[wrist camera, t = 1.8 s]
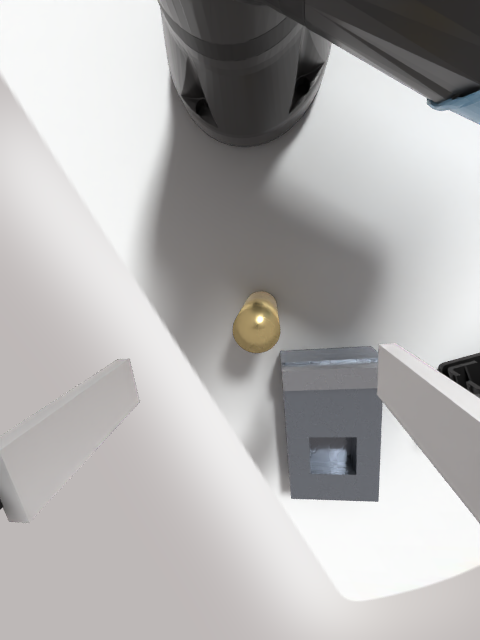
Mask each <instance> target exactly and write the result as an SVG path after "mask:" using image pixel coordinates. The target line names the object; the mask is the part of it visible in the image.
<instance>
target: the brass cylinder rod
mask: <svg viewBox="0 0 480 640" xmlns="http://www.w3.org/2000/svg"><path fill="white" fill-rule="evenodd" d="M233 336H234V339H235V341H236V342H237V344H238V345H239V346H240V347H241V348H243V349H244V350H246V351H248V352H252V353H262V352H265V351H268V350H270V349H271V348H272V347H273V346H275V344H276V343H277V341H278V339H279V336H280V324H279V317H278V310H277V304H276V301H275V299H274V297H273V296H272V295H270V294H269V293H267V292H263V291H258V292H255V293H253V294H251V295H250V296H249V297H248V298H247V300H246V302H245V303H244V305H243V307H242V309H241V310H240V312H239V314H238V316H237V317H236V319H235V321H234V324H233Z"/></svg>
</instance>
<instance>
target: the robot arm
mask: <svg viewBox="0 0 480 640" xmlns="http://www.w3.org/2000/svg"><path fill="white" fill-rule="evenodd" d="M158 3H159V5H160V9H161V16H162V24H163V31H164V38H165V46H166V53H167V59H168V65H169V69H170V73H171V76H172V79H173V82H174V85H175V88H176V90H177V92H178V95H179V96H180V98H181V100H182V102H183V104H184V106H185V107H186V109H187V111H188V113H189V114H190V116H191V117H192V119H193V120H194V121H195V123H196V124H197V125H198V126H199V127H200V128H201V129H202V130H203V131H204V132H205V133H207V134H208V135H209V136H211V137H213V138H214V139H216V140H218V141H220V142H223V143H225V144H229V145H233V146H242V147H247V146H256V145H260V144H263V143H267V142H269V141H271V140H273V139H275V138H277V137H279V136H281V135H282V134H284V133H285V132H286V131H288V130H289V129H290V128H291V127H292V126H293V125H294V124H296V122H297V121H298V120H299V119H300V118H301V117H302V116H303V114H304V113H305V112H306V110H307V109H308V108H309V106H310V104H311V103H312V101H313V99H314V97H315V95H316V93H317V91H318V89H319V86H320V84H321V81H322V78H323V75H324V71H325V68H326V64H327V61H328V57H329V53H330V49H331V43H333V44H335V45H337V46H338V47H340V48H342V49H344V50H345V51H347V52H349V53H350V54H352V55H354V56H356V57H357V58H359V59H361V60H362V61H364V62H366V63H368V64H369V65H371V66H373V67H374V68H376V69H378V70H380V71H381V72H383V73H385V74H387V75H388V76H390V77H392V78H393V79H395V80H397V81H399V82H400V83H402V84H404V85H405V86H407V87H409V88H411V89H412V90H414V91H416V92H417V93H419V94H421V95H423V96H424V97H426V98H427V104H428V105H429V106H430V107H431V108H433V109H435V110H439V111H444V110H450V111H452V112H455V113H457V114H459V115H461V116H463V117H465V118H467V119H469V120H471V121H473V122H475V123H477V124H480V0H158ZM377 395H378V397H379V398H380V399H381V400H382V402H383V403H384V404H385V405H386V407H387V408H388V409H389V410H390V412H391V413H392V414H393V415H394V417H395V418H396V419H397V420H398V422H399V423H400V424H401V425H402V427H403V428H404V429H405V430H406V432H407V433H408V434H409V435H410V437H411V438H412V439H413V440H414V442H415V443H416V444H417V445H418V447H419V448H420V449H421V450H422V452H423V453H424V454H425V455H426V457H427V458H428V459H429V460H430V462H431V463H432V464H433V465H434V467H435V468H436V469H437V471H438V472H439V473H440V474H441V476H442V477H443V478H444V479H445V481H446V482H447V483H448V484H449V486H450V487H451V488H452V489H453V491H454V492H455V493H456V494H457V496H458V497H459V498H460V499H461V501H462V502H463V503H464V504H465V506H466V507H467V508H468V509H469V511H470V512H471V513H472V514H473V516H474V517H475V518H476V519H477V521H478V522H479V523H480V394H472V393H471V392H469V391H468V390H466V389H465V388H463V387H462V386H460V385H459V384H457V383H456V382H454V381H453V380H451V379H450V378H448V377H446V376H445V375H443V374H442V373H440V372H439V371H437V370H436V369H434V368H433V367H431V366H430V365H428V364H427V363H425V362H424V361H422V360H421V359H419V358H418V357H416V356H415V355H413V354H412V353H410V352H409V351H407V350H405V349H404V348H402V347H401V346H399V345H398V344H396V343H390V344H379V352H378V385H377ZM139 402H140V400H139V396H138V392H137V388H136V383H135V379H134V375H133V371H132V367H131V362H130V359H117V360H116V361H114V362H113V363H111V364H110V365H108V366H107V367H105V368H104V369H102V370H100V371H99V372H97V373H96V374H94V375H93V376H92V377H90V378H88V379H87V380H85V381H84V382H83V383H81V384H79V385H78V386H76V387H75V388H73V389H72V390H70V391H69V392H67V393H65V394H64V395H62V396H61V397H59V398H58V399H56V400H55V401H53V402H52V403H50V404H49V405H47V406H45V407H44V408H42V409H41V410H39V411H38V412H36V413H35V414H33V415H32V416H30V417H29V418H27V419H26V420H24V421H23V422H21V423H19V424H18V425H17V426H15V427H14V428H12V429H10V430H9V431H7V432H6V433H4V434H3V435H1V436H0V509H1V508H2V507H3V509H4V511H5V513H6V516H7V518H8V520H9V522H22V523H30V522H31V521H32V520H33V519H34V517H35V516H36V515H37V514H38V513H39V512H40V511H41V510H42V509H43V508H44V506H45V505H46V504H47V503H48V502H49V501H50V500H51V499H52V498H53V497H54V496H55V494H56V493H57V492H58V491H59V490H60V489H61V488H62V487H63V486H64V485H65V483H66V482H67V481H68V480H69V479H70V478H71V477H72V476H73V475H74V474H75V472H76V471H77V470H78V469H79V468H80V467H81V466H82V465H83V464H84V463H85V462H86V460H87V459H88V458H89V457H90V456H91V455H92V454H93V453H94V452H95V451H96V450H97V448H98V447H99V446H100V445H101V444H102V443H103V442H104V441H105V440H106V439H107V437H108V436H109V435H110V434H111V433H112V432H113V431H114V430H115V429H116V428H117V426H118V425H119V424H120V423H121V422H122V421H123V420H124V419H125V418H126V417H127V415H128V414H129V413H130V412H131V411H132V410H133V409H134V408H135V407H136V406H137V405H138V403H139Z"/></svg>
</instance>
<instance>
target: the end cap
mask: <svg viewBox="0 0 480 640" xmlns="http://www.w3.org/2000/svg"><path fill="white" fill-rule="evenodd" d="M439 371H440V373H442V374H443V375H445V376H446V377H448V378H450V379H451V380H453V381H454V382H456V383H457V384H459V385H460V386H462V387H463V388H465V389H466V390H468V391H469V392H471V393H472V394H480V353H477V354H474V355H470V356H466V357H463V358H459V359H455V360H452V361H448V362H444V363H442V364H440V366H439Z"/></svg>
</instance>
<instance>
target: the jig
mask: <svg viewBox="0 0 480 640" xmlns="http://www.w3.org/2000/svg"><path fill="white" fill-rule="evenodd" d="M280 355H281V369H282V383H283V396H284V410H285V424H286V437H287V451H288V464H289V478H290V489H291V499H317V500H346V501H375V502H378V497H379V472H380V447H381V422H382V400H381V399H380V398H379V397H378V395H377V385H378V352H377V351H376V350H375V349H373V348H372V347H371V346H365V347H347V348H329V349H311V350H293V351H280Z"/></svg>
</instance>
